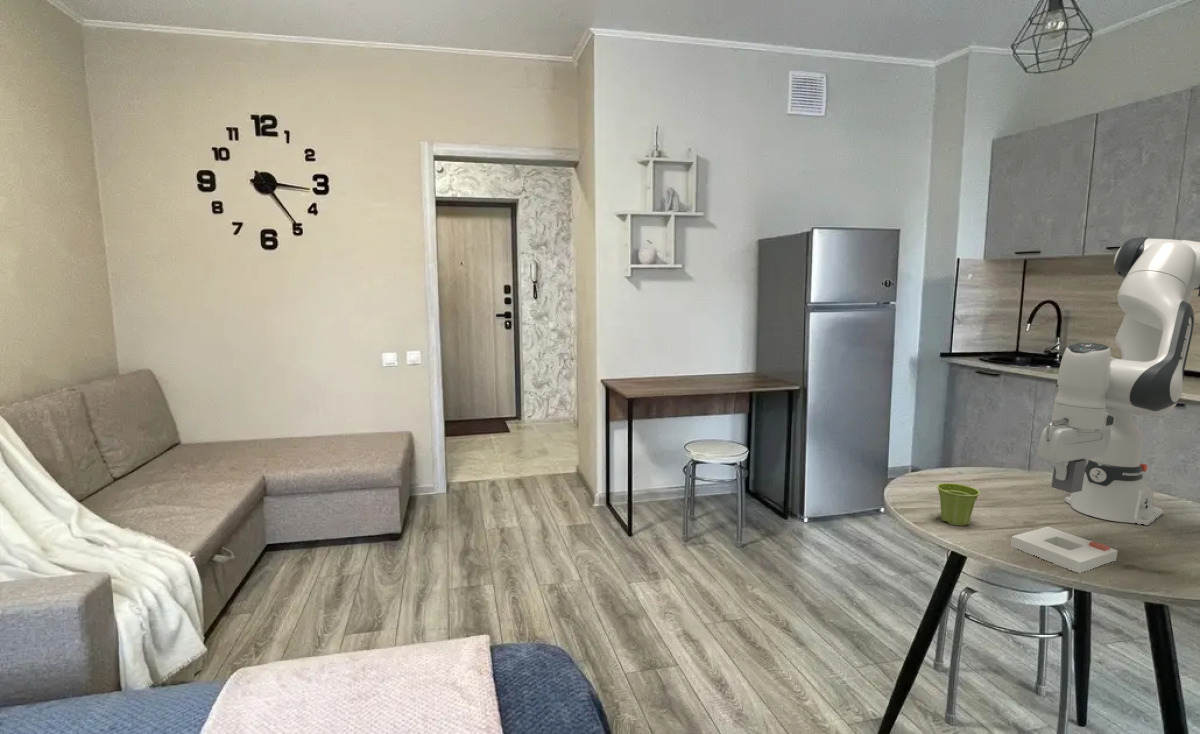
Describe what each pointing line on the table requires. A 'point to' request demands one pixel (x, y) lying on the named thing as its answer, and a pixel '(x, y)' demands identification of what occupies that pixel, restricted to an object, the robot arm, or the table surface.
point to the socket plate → (1064, 549)
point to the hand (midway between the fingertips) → (1068, 478)
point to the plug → (1071, 477)
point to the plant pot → (957, 502)
